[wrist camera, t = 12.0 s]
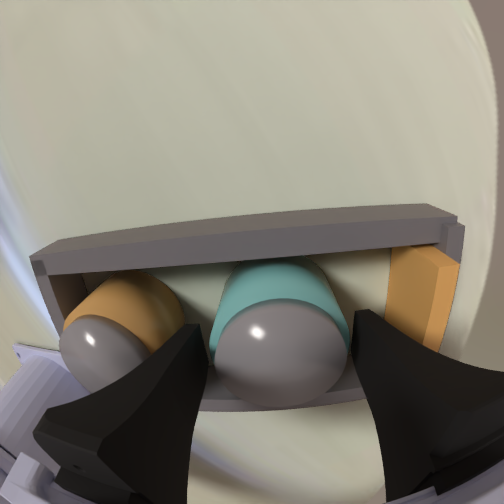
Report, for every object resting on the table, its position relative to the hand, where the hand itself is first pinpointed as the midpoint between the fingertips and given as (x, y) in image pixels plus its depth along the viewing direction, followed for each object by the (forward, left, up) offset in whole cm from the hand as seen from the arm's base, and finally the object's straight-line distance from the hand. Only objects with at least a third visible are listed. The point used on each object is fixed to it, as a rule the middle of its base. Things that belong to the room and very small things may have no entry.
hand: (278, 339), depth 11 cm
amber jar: (0, +7, -2) cm, 7 cm away
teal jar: (0, 0, -2) cm, 3 cm away
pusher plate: (0, -6, -2) cm, 6 cm away
